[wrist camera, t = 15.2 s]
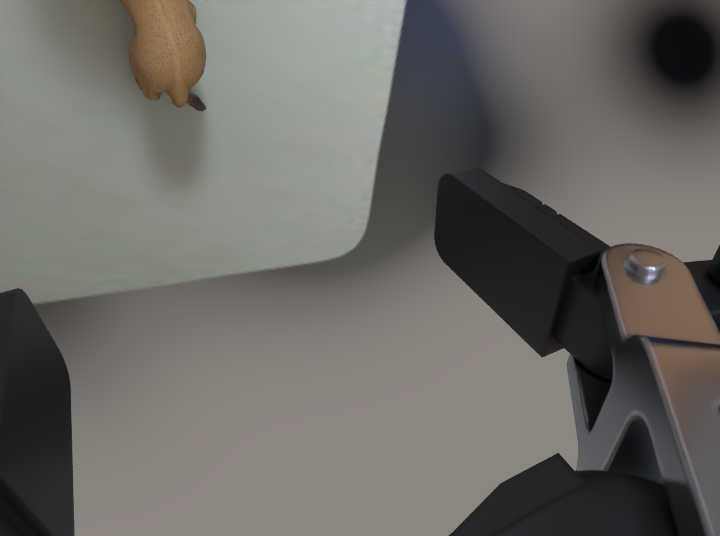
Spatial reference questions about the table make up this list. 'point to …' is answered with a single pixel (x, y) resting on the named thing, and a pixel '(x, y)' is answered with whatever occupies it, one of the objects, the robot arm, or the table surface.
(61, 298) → the table surface
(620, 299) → the robot arm
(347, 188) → the table surface
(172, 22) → the lion figurine
